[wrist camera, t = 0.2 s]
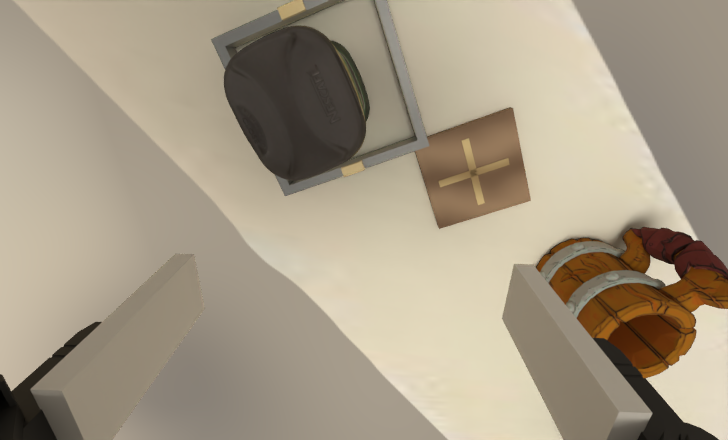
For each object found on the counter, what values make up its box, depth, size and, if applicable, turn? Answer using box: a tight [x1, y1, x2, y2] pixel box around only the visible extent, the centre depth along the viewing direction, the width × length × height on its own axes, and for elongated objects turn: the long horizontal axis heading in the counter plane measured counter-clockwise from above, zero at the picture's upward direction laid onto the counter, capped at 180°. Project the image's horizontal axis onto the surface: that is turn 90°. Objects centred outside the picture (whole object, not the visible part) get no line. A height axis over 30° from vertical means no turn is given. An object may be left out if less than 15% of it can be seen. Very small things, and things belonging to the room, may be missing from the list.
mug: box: [536, 227, 728, 378], centre depth 38 cm, size 11×16×15 cm, turn 140°
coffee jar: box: [224, 26, 370, 181], centre depth 29 cm, size 10×8×19 cm
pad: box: [415, 108, 531, 229], centre depth 40 cm, size 11×11×1 cm
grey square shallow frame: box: [211, 0, 429, 196], centre depth 36 cm, size 17×17×3 cm
